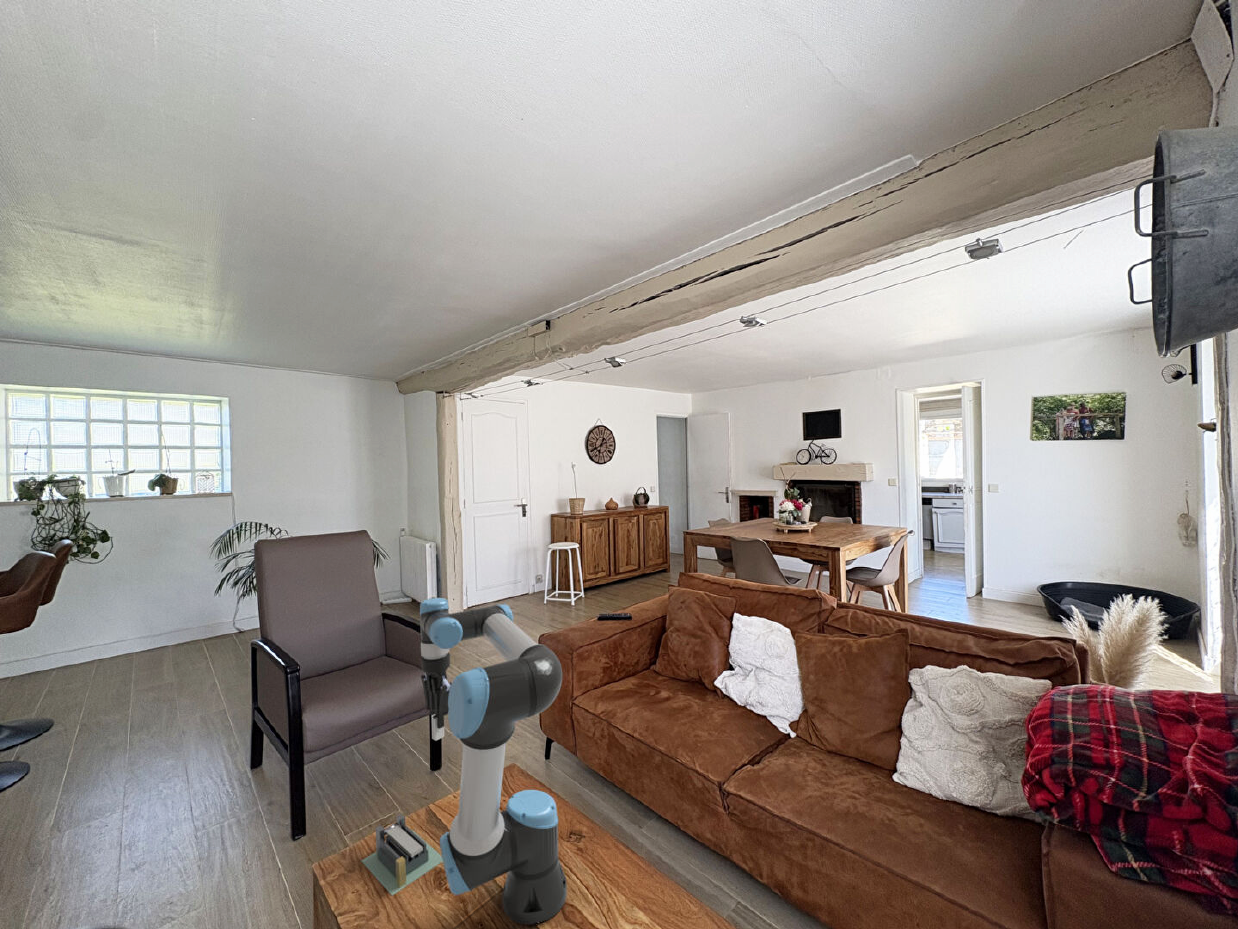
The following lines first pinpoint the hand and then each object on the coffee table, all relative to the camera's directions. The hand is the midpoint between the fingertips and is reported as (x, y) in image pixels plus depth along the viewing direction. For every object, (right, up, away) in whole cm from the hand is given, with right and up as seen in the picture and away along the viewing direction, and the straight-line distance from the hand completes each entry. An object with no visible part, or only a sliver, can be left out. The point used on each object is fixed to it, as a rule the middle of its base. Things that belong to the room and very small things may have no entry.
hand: (438, 737), depth 145 cm
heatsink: (-5, -26, -12) cm, 29 cm away
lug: (-2, -26, -19) cm, 32 cm away
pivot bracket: (-10, -26, -8) cm, 28 cm away
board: (-5, -27, -12) cm, 30 cm away
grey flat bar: (-5, -21, -12) cm, 24 cm away
